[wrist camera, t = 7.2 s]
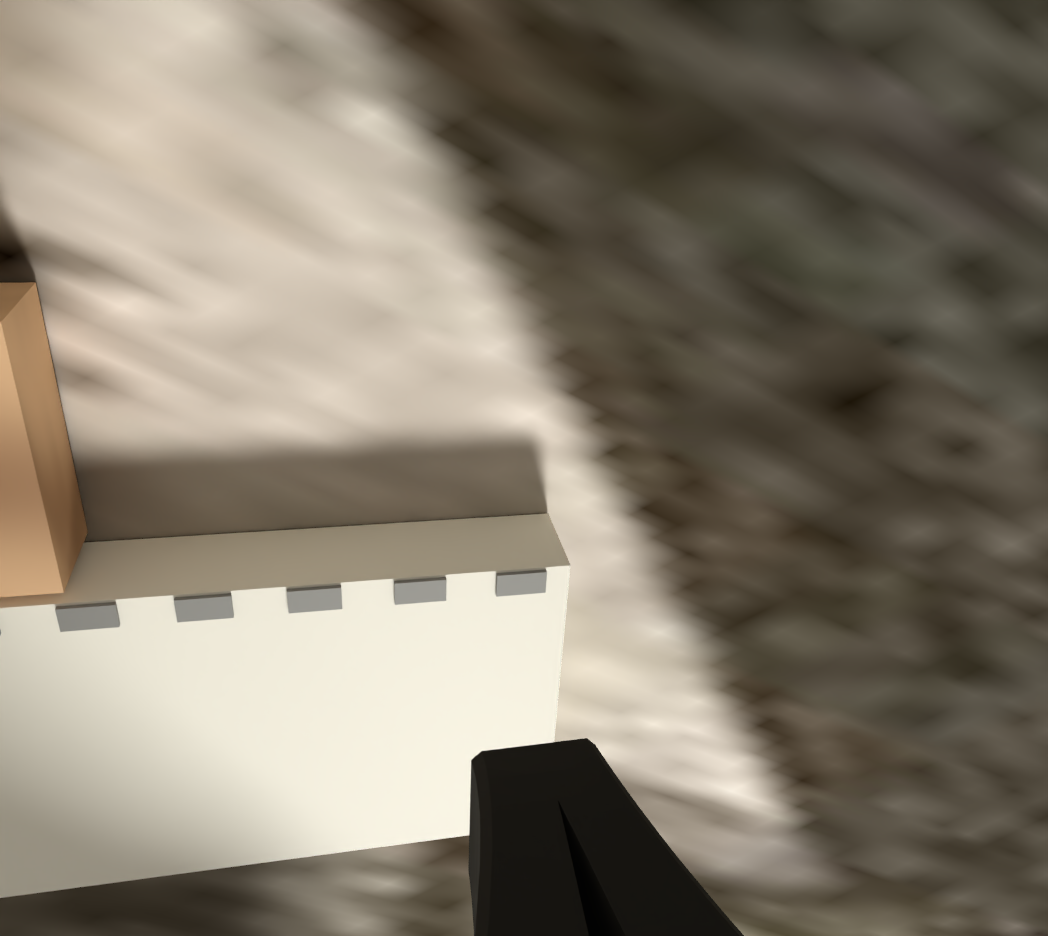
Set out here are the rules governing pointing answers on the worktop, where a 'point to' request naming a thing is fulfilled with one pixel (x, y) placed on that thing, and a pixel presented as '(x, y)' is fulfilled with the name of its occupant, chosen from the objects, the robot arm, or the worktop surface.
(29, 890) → the board
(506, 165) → the worktop surface
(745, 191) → the worktop surface
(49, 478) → the tan flat block
